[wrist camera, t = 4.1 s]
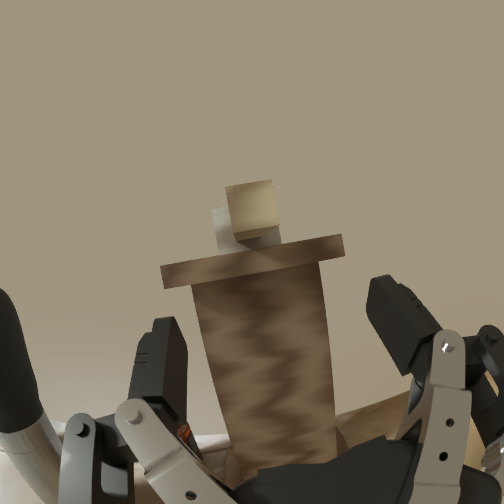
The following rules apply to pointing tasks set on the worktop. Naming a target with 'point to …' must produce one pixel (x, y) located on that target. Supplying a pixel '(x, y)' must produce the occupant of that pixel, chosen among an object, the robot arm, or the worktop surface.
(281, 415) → the stand
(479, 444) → the worktop surface
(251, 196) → the grey and beige bar
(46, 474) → the robot arm
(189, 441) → the supplement bottle
